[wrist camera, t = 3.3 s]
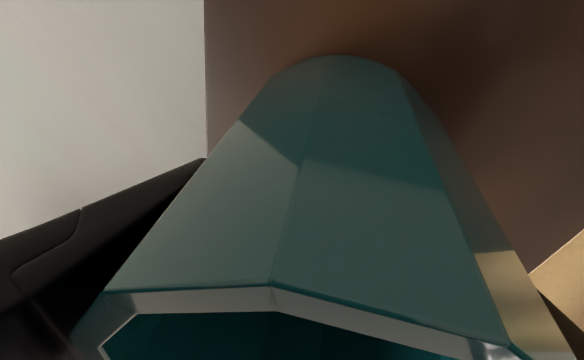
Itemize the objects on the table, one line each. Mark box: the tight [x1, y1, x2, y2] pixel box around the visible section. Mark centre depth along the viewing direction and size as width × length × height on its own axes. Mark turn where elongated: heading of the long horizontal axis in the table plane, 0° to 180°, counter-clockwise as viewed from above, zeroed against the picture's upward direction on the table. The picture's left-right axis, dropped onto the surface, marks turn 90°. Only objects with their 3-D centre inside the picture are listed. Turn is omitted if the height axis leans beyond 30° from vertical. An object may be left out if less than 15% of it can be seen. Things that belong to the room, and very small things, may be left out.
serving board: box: [204, 0, 584, 332], centre depth 11 cm, size 24×15×1 cm, turn 80°
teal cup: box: [69, 55, 577, 360], centre depth 7 cm, size 7×7×8 cm
